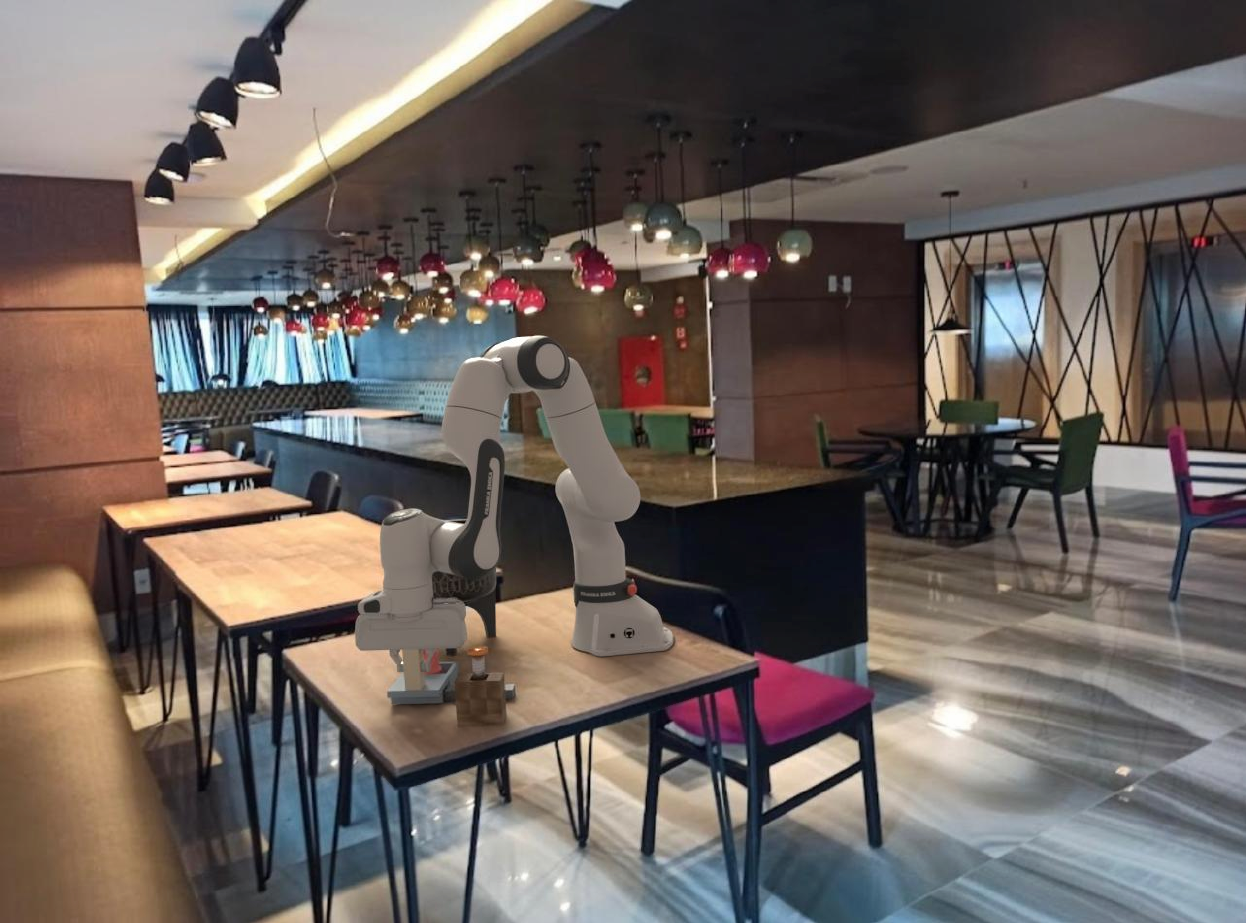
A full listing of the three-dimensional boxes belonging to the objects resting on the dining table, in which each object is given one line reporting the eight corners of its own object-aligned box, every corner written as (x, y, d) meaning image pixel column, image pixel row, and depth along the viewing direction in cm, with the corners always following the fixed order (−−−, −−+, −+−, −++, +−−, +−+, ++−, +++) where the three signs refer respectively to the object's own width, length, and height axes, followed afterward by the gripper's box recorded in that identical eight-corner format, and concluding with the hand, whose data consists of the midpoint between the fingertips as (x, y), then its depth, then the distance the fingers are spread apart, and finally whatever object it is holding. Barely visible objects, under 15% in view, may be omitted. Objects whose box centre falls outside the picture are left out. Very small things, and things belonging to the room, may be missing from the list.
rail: (515, 694, 171) (514, 683, 170) (512, 700, 168) (512, 689, 168) (401, 697, 172) (400, 686, 172) (396, 703, 169) (395, 693, 169)
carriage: (459, 675, 181) (455, 621, 180) (439, 707, 165) (435, 648, 164) (412, 677, 182) (408, 623, 180) (388, 708, 166) (383, 649, 164)
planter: (495, 655, 193) (487, 535, 190) (404, 659, 193) (395, 538, 190) (508, 627, 212) (501, 517, 209) (425, 630, 213) (417, 520, 209)
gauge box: (506, 715, 161) (503, 672, 160) (502, 724, 157) (499, 680, 156) (462, 716, 161) (459, 673, 160) (457, 725, 157) (454, 682, 156)
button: (491, 682, 160) (489, 645, 159) (488, 690, 156) (485, 652, 156) (471, 683, 160) (469, 646, 159) (467, 690, 157) (465, 653, 156)
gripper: (468, 592, 167) (473, 663, 169) (360, 595, 168) (366, 666, 170) (461, 601, 161) (466, 675, 163) (348, 605, 162) (355, 678, 164)
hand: (414, 671), depth 167 cm, fingers closed on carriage, 3 cm apart
